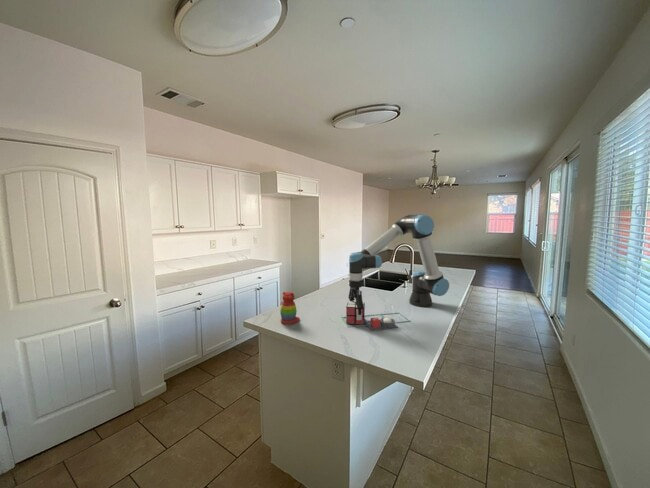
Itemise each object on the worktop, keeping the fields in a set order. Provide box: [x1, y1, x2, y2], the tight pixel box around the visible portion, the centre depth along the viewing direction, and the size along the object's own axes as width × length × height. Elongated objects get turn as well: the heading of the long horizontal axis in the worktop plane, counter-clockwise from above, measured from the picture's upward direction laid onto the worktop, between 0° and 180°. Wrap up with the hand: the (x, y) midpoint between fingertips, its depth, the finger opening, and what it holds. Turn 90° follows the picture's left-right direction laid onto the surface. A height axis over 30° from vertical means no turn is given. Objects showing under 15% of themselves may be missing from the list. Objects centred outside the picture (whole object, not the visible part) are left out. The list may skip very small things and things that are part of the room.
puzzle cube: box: [345, 300, 366, 325], centre depth 155 cm, size 10×10×10 cm
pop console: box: [366, 316, 399, 331], centre depth 148 cm, size 15×8×5 cm, turn 102°
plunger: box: [383, 317, 393, 323], centre depth 149 cm, size 5×5×3 cm
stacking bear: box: [279, 291, 301, 326], centre depth 155 cm, size 11×10×18 cm
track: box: [341, 312, 411, 328], centre depth 158 cm, size 38×14×1 cm, turn 102°
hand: (355, 315), depth 155 cm, fingers open, 13 cm apart
